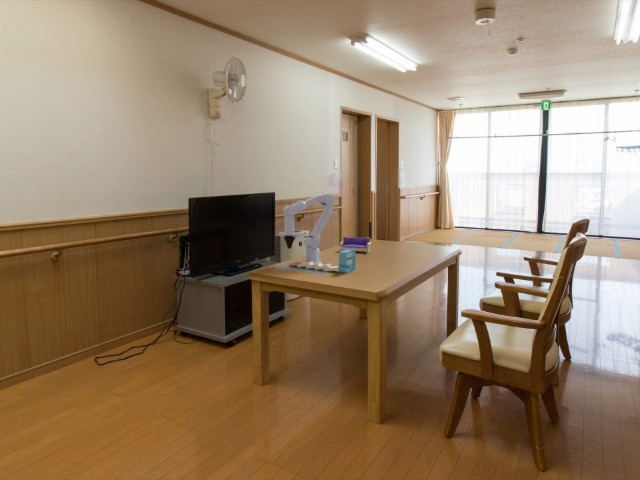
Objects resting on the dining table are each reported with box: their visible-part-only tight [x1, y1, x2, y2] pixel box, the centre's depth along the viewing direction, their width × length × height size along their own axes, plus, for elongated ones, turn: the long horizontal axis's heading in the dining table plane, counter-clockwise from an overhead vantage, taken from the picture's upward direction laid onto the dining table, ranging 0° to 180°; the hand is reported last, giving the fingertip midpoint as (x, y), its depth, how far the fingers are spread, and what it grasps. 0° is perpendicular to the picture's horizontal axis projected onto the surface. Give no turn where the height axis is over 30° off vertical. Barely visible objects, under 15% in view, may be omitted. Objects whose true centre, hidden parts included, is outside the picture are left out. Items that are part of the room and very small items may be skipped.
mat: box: [272, 262, 336, 276], centre depth 265 cm, size 17×34×1 cm, turn 59°
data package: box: [338, 249, 357, 274], centre depth 258 cm, size 12×4×12 cm, turn 149°
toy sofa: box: [339, 235, 372, 254], centre depth 320 cm, size 21×9×10 cm, turn 71°
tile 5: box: [324, 265, 339, 272], centre depth 257 cm, size 4×2×8 cm
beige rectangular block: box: [297, 261, 313, 267], centre depth 266 cm, size 4×2×8 cm
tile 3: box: [306, 261, 323, 269], centre depth 263 cm, size 4×2×8 cm
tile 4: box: [315, 263, 332, 270], centre depth 260 cm, size 4×2×8 cm
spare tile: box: [289, 260, 306, 266], centre depth 269 cm, size 4×2×8 cm
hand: (289, 248), depth 276 cm, fingers closed
